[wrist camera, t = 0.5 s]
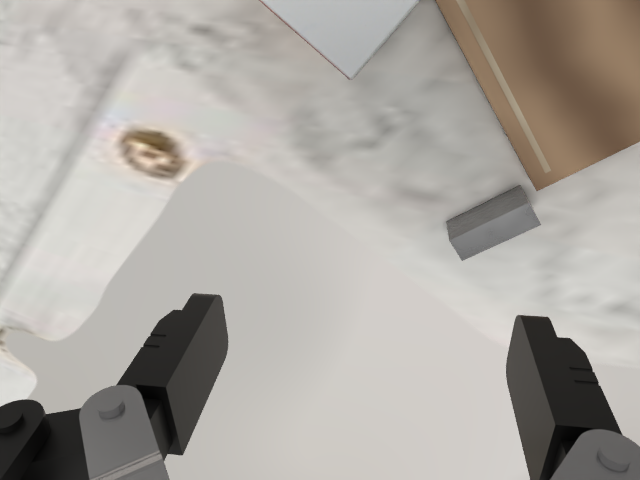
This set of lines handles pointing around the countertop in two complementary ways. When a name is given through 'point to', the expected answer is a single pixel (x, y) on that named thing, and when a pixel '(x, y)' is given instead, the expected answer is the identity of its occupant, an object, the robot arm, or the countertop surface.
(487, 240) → the block
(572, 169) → the plank
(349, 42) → the small box
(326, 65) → the countertop surface
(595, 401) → the robot arm
